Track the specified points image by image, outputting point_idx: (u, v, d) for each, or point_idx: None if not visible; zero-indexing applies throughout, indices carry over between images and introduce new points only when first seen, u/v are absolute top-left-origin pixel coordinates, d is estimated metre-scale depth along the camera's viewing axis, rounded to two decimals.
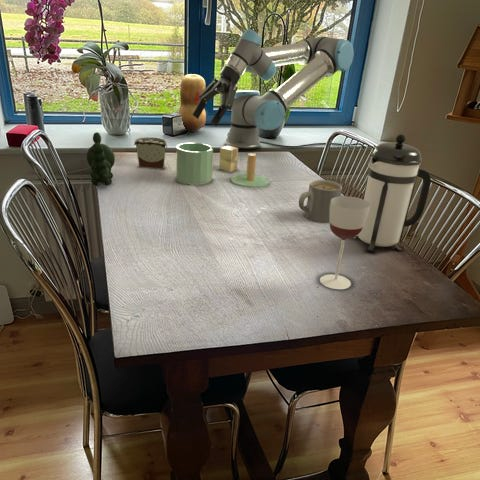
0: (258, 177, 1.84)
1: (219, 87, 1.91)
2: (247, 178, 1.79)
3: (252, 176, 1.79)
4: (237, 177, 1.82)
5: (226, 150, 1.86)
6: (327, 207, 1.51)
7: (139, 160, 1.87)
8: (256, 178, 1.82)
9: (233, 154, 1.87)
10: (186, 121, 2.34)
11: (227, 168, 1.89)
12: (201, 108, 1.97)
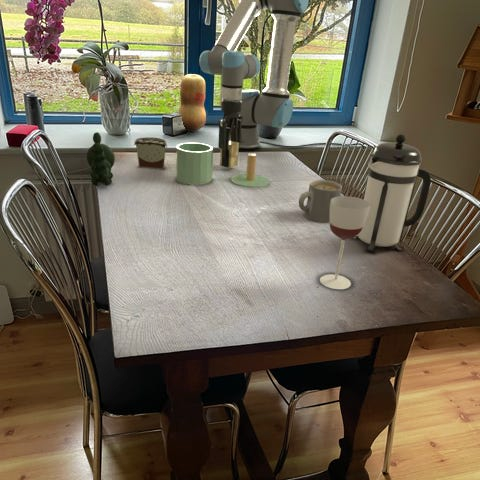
0: (258, 177, 1.84)
1: None
2: (247, 178, 1.79)
3: (252, 176, 1.79)
4: (237, 177, 1.82)
5: None
6: (327, 207, 1.51)
7: (139, 160, 1.87)
8: (256, 178, 1.82)
9: (234, 149, 1.87)
10: (186, 121, 2.34)
11: None
12: None
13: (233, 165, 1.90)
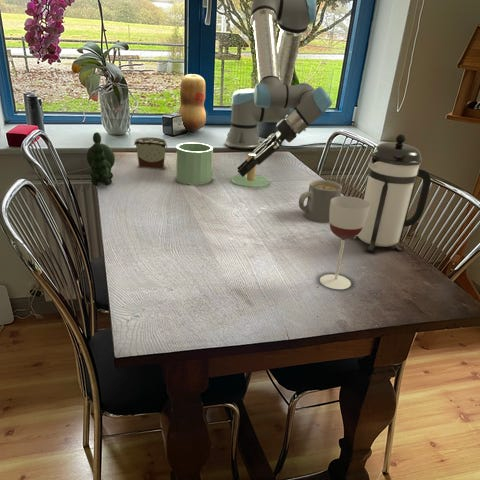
0: (258, 177, 1.84)
1: None
2: (247, 178, 1.79)
3: (252, 176, 1.79)
4: (237, 177, 1.82)
5: None
6: (327, 207, 1.51)
7: (139, 160, 1.87)
8: (256, 178, 1.82)
9: None
10: (186, 121, 2.34)
11: None
12: None
13: None
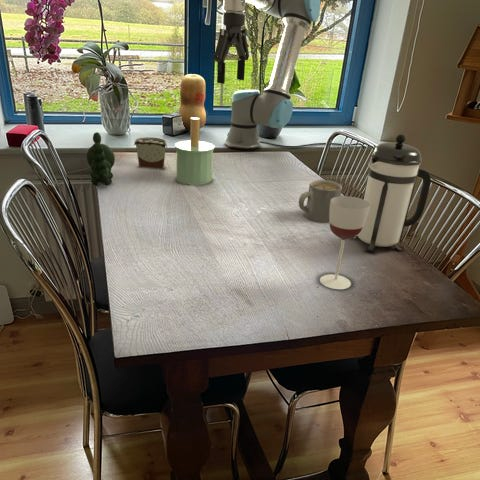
0: (204, 143, 1.77)
1: (234, 39, 1.71)
2: (191, 144, 1.72)
3: (196, 142, 1.71)
4: (181, 143, 1.75)
5: None
6: (327, 207, 1.51)
7: (139, 160, 1.87)
8: (201, 144, 1.75)
9: None
10: (186, 121, 2.34)
11: None
12: None
13: None
